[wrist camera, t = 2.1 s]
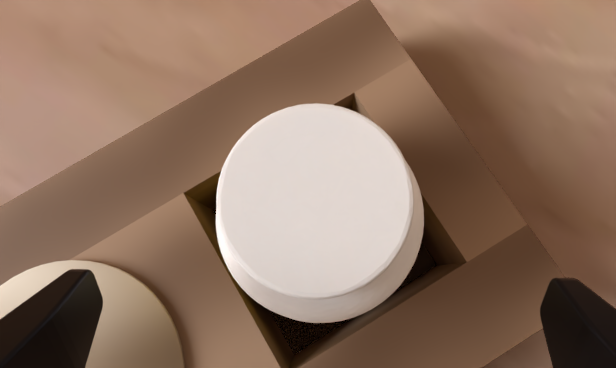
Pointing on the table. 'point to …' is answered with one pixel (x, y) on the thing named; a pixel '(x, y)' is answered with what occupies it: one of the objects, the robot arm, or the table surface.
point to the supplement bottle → (318, 213)
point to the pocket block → (203, 237)
